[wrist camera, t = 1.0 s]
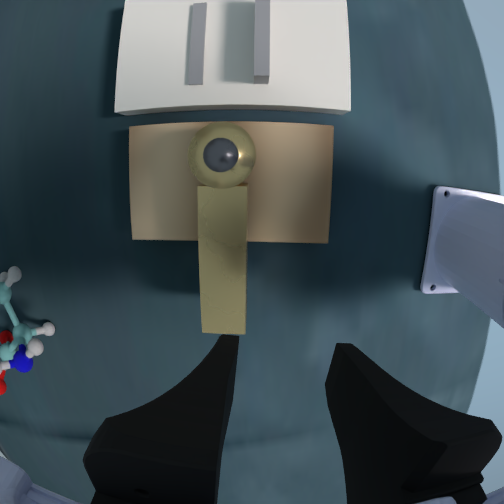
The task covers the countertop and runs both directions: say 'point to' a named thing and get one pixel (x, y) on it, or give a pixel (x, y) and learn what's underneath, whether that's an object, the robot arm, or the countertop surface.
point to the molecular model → (17, 333)
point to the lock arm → (222, 223)
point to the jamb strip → (259, 182)
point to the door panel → (233, 56)
